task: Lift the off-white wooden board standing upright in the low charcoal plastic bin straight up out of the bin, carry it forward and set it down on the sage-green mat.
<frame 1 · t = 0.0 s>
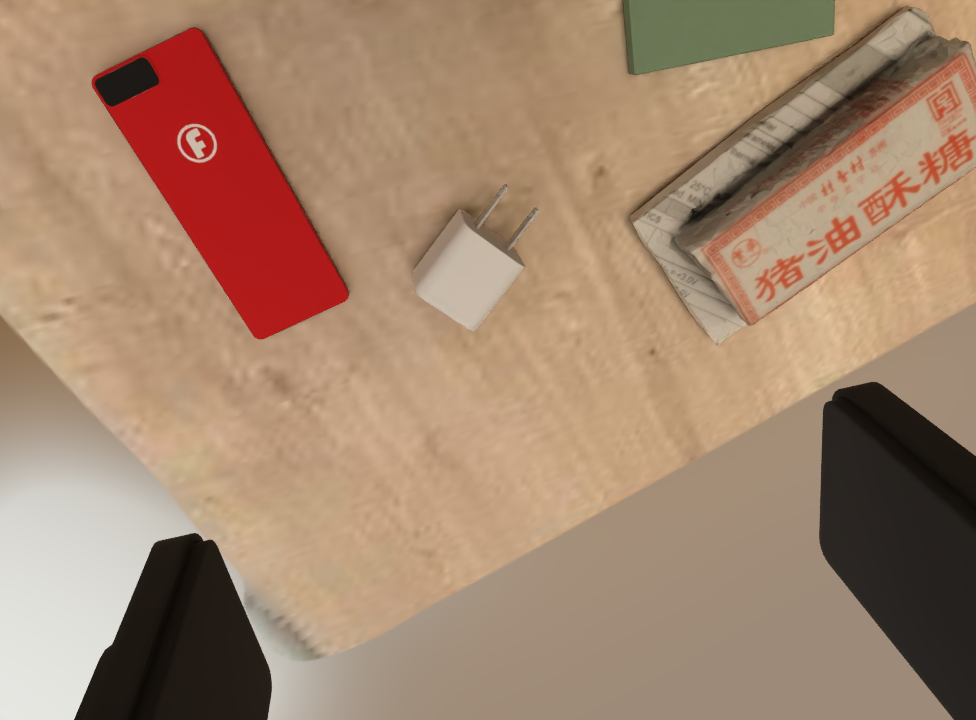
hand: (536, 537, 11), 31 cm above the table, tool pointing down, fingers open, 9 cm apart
usb wall charger: (476, 238, 42), on the table
packaged product: (796, 181, 43), on the table
electronic device: (232, 194, 39), on the table
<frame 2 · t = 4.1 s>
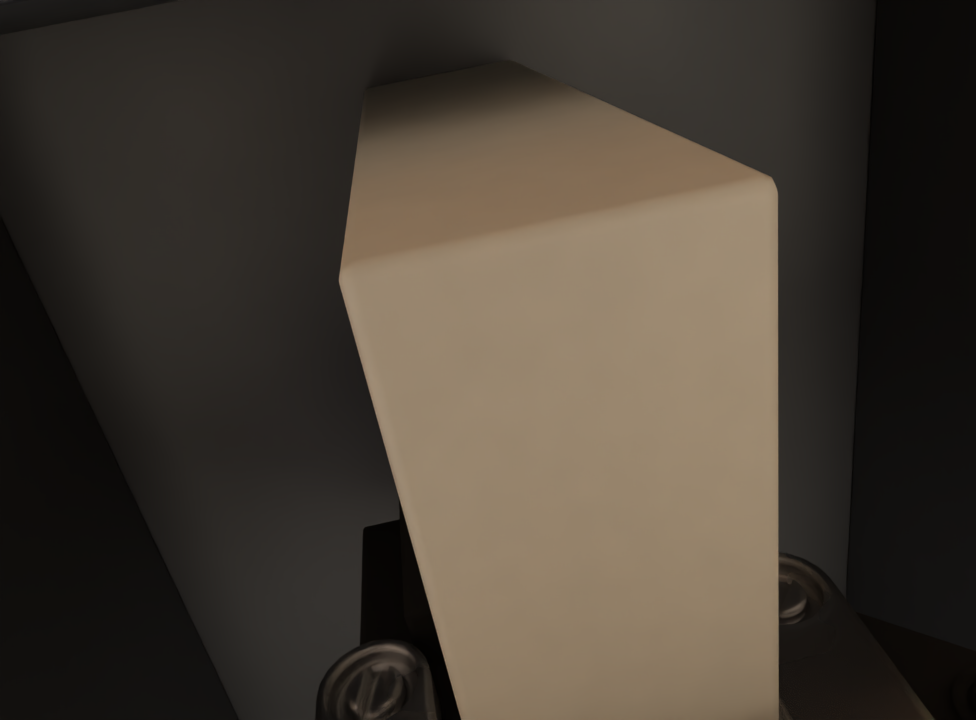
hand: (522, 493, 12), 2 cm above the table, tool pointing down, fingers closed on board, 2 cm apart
board: (511, 452, 14), point 1 cm above the table, touching bin, gripper
bin: (506, 437, 14), on the table
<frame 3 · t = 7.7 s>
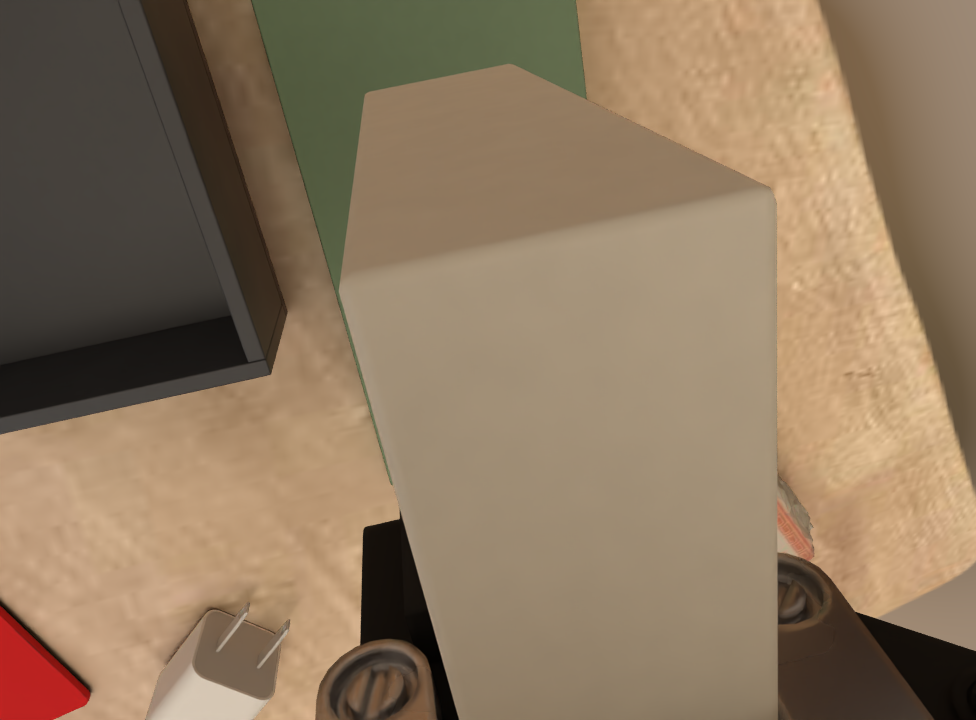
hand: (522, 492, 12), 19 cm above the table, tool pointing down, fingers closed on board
usb wall charger: (237, 629, 37), on the table
packaged product: (604, 550, 38), on the table
mat: (458, 210, 29), on the table
board: (511, 454, 14), point 17 cm above the table, touching gripper
bin: (8, 129, 26), on the table
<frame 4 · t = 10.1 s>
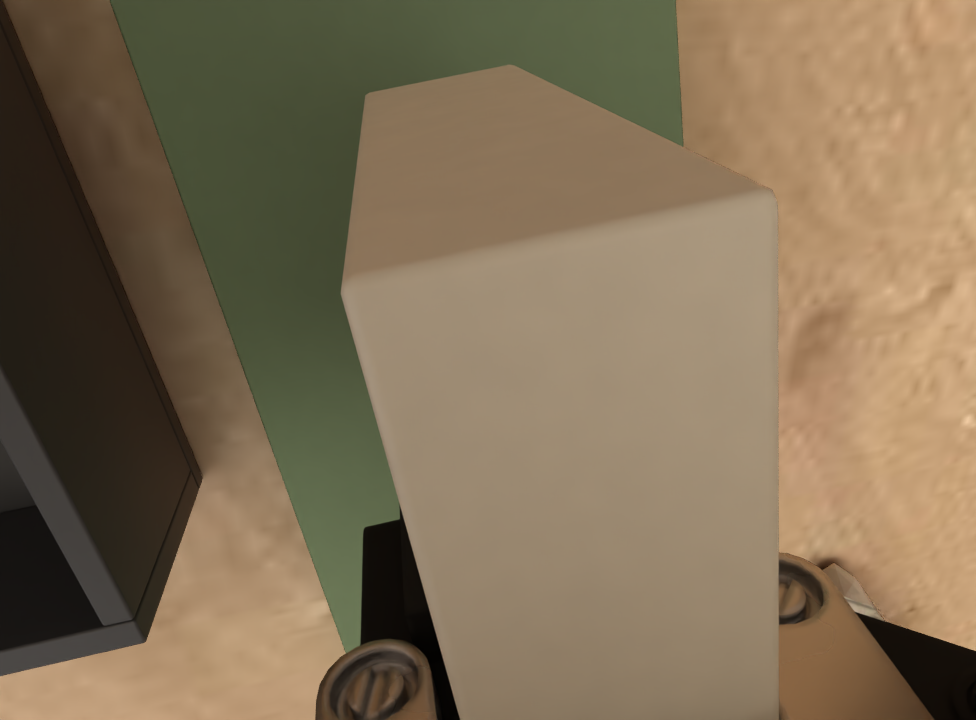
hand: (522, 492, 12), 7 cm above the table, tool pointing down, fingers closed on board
mat: (469, 325, 18), on the table
board: (511, 455, 14), point 6 cm above the table, touching gripper
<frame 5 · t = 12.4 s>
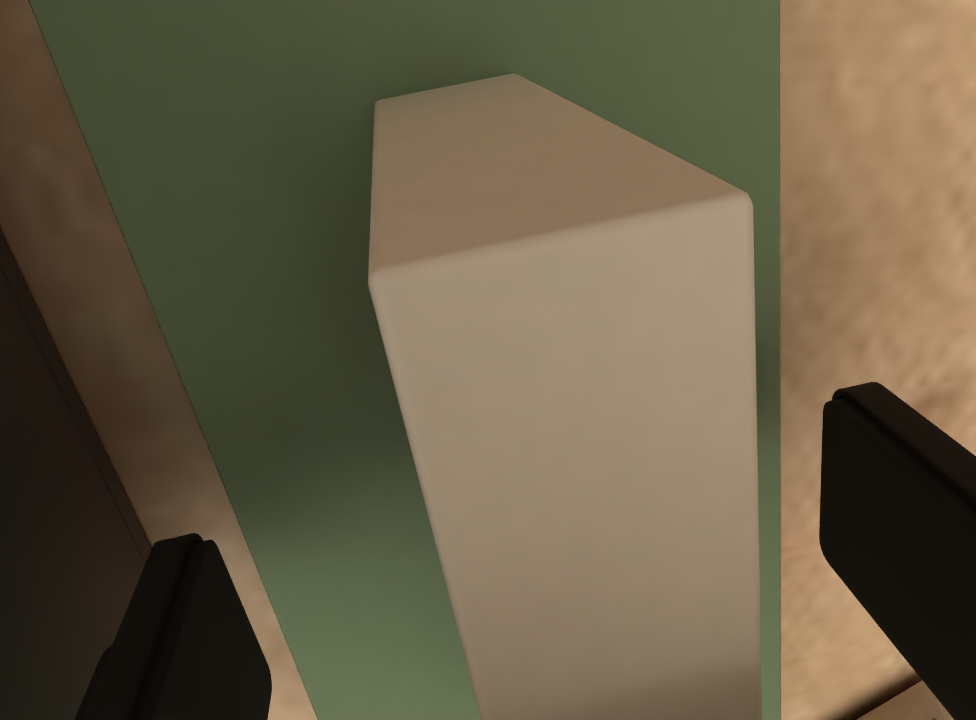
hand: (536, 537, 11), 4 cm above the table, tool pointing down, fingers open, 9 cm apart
mat: (502, 416, 15), on the table
board: (513, 448, 14), point 1 cm above the table, touching mat
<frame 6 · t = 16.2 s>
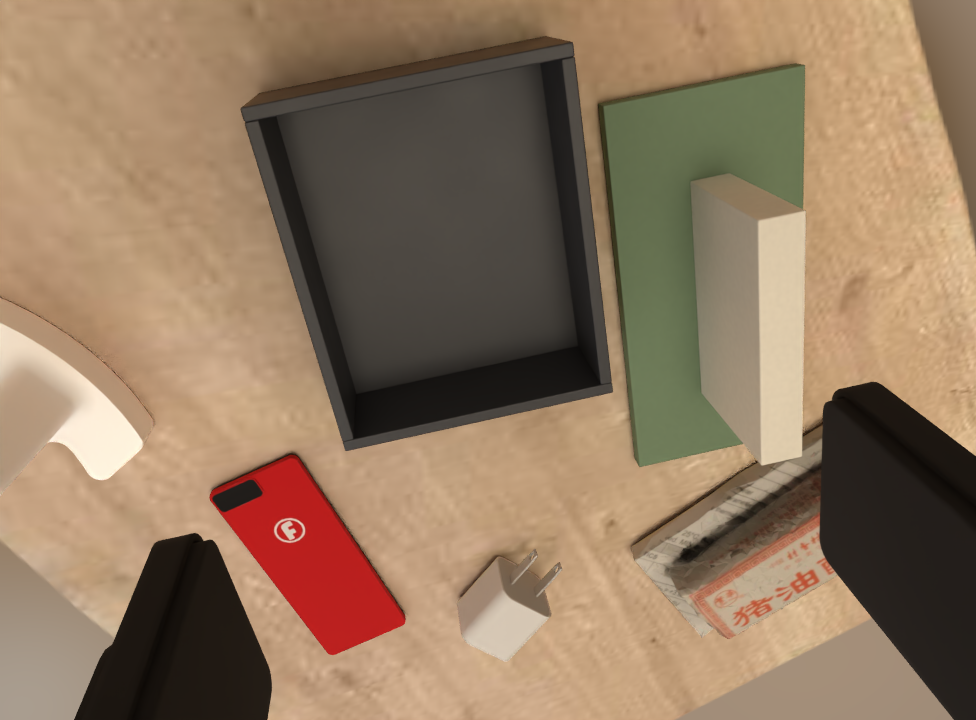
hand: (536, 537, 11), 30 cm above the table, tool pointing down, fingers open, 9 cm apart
usb wall charger: (510, 572, 51), on the table
packaged product: (769, 515, 52), on the table
mat: (706, 282, 44), on the table
board: (714, 290, 43), point 1 cm above the table, touching mat
joystick: (40, 389, 41), on the table
bin: (439, 234, 40), on the table
electronic device: (314, 556, 48), on the table
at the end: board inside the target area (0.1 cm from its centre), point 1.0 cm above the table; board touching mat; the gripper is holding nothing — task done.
